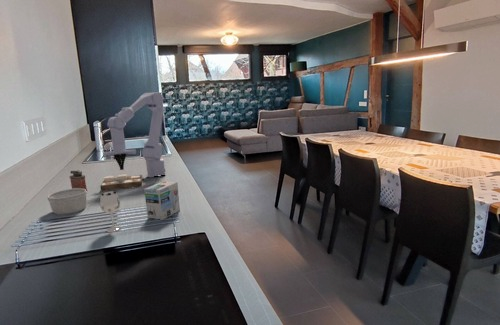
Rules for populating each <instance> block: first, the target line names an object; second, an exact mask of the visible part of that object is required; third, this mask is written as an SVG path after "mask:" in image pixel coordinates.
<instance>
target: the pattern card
mask: <svg viewBox="0 0 500 325" xmlns="http://www.w3.org/2000/svg"><path fill="white" fill-rule="evenodd" d="M137 181H140V179H134V180H126V181H117V182H107V183H103V182H102V183H103V184H102V183H101V184H102V185H111V184H120V183H128V182H137Z"/></svg>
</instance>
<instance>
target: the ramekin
mask: <svg viewBox="0 0 500 325" xmlns="http://www.w3.org/2000/svg"><path fill="white" fill-rule="evenodd" d="M87 192H88V191H87ZM87 192H86V189H82V188H75V189H72V188H68V189H61V190H59V191H58V190H57V191H54V192H52V193H50V194H48V195H47V201H48V202H49V206H50V208H51V211H52V213H53V214H55V215H59V216H60V215H61V216H62V215H71V214H75V213H78V212H79V213H80V211H83V210H84V209H85V208H86V207H87V194H88V193H87Z"/></svg>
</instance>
